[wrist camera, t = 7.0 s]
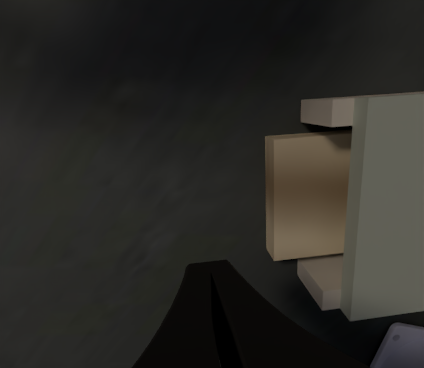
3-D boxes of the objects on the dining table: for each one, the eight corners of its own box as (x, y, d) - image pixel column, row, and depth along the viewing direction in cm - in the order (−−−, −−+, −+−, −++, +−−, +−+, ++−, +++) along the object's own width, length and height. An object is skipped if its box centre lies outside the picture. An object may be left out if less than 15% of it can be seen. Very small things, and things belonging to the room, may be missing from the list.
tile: (381, 231, 20) (403, 245, 18) (264, 244, 19) (274, 260, 17) (392, 125, 18) (418, 128, 16) (262, 135, 17) (273, 139, 15)
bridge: (400, 262, 20) (460, 305, 16) (297, 275, 19) (331, 324, 15) (422, 91, 17) (504, 88, 13) (301, 99, 16) (345, 99, 12)
